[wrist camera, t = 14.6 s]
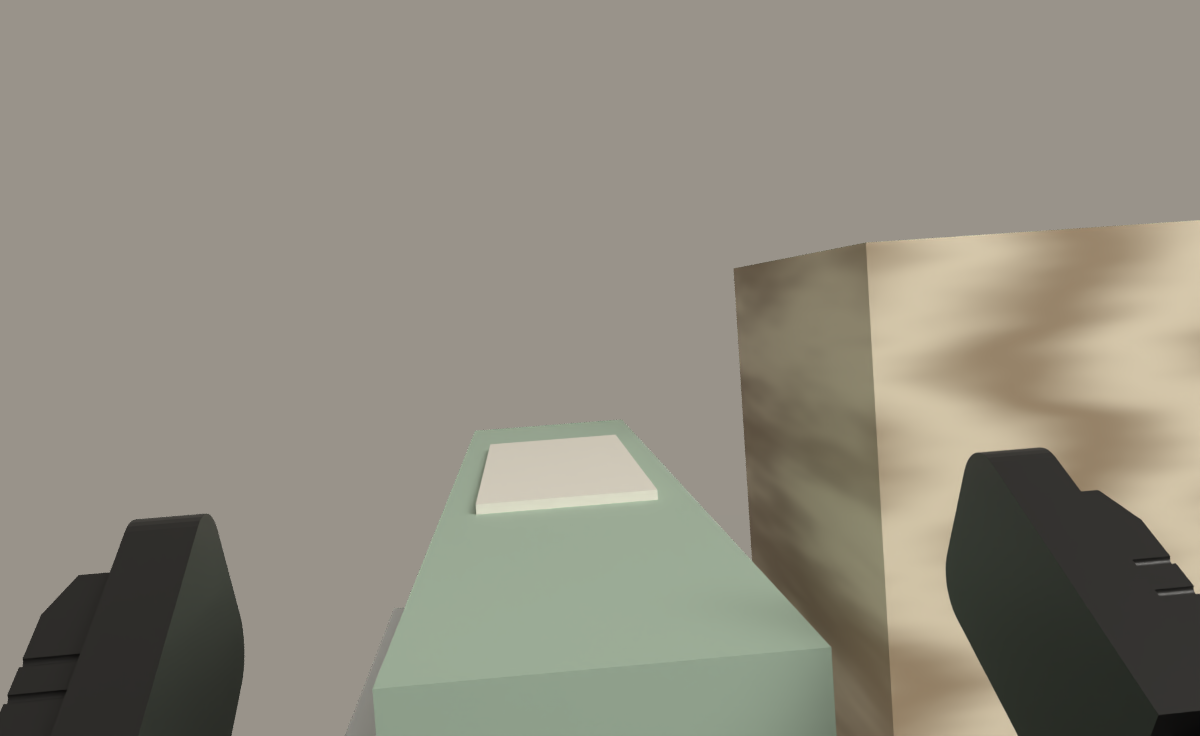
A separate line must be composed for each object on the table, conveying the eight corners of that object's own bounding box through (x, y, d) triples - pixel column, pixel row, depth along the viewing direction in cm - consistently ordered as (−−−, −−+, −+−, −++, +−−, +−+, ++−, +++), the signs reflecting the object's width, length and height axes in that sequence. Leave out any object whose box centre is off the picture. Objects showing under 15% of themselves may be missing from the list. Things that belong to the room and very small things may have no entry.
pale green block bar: (857, 1083, 13) (830, 629, 12) (409, 1137, 12) (370, 670, 12) (631, 563, 38) (621, 413, 38) (486, 576, 38) (474, 424, 38)
